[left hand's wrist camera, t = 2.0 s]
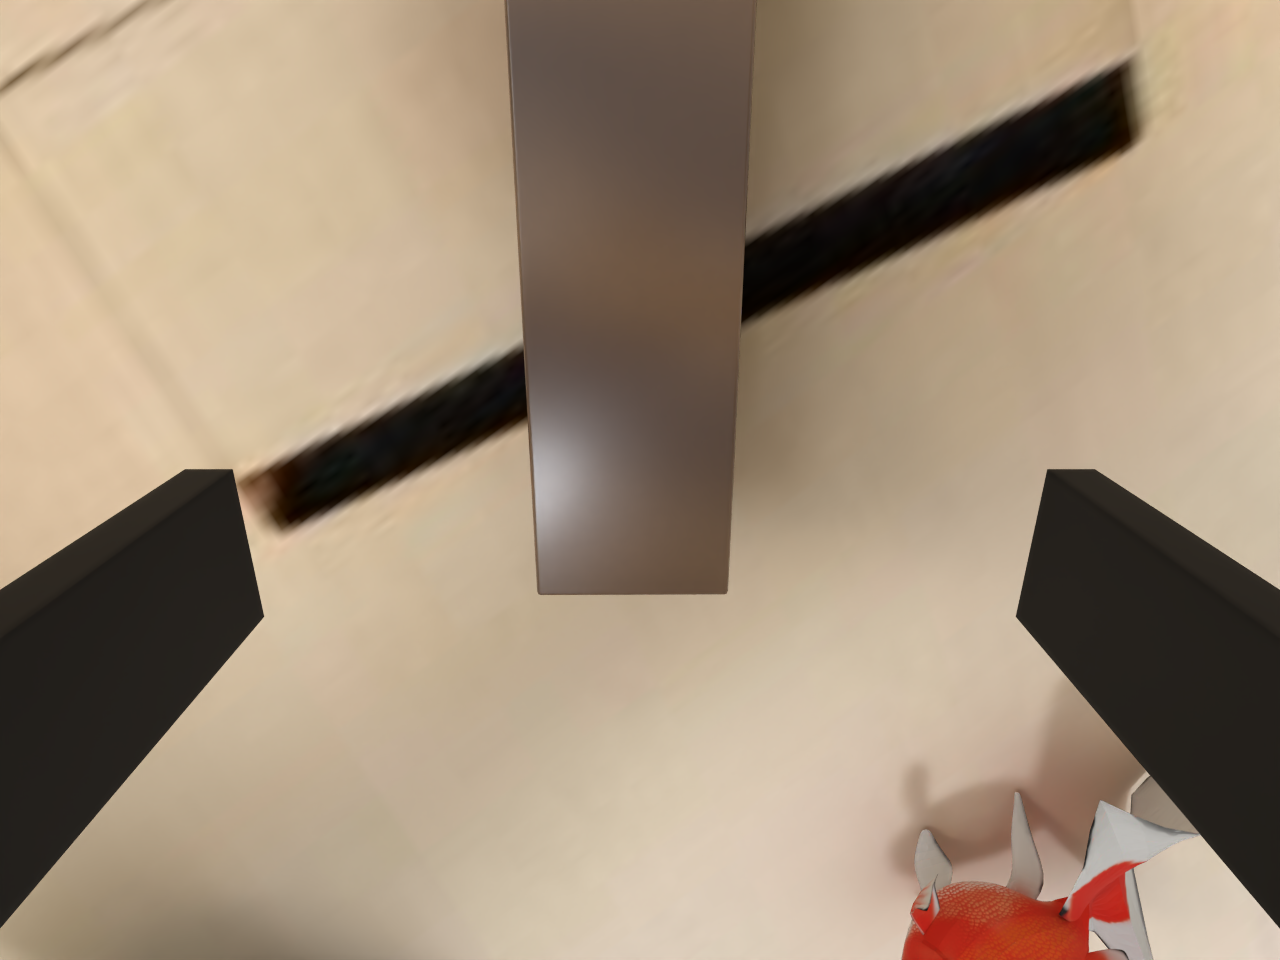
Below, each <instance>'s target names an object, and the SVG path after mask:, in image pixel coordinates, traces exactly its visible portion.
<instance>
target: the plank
mask: <svg viewBox="0 0 1280 960" xmlns="http://www.w3.org/2000/svg"><path fill="white" fill-rule="evenodd" d="M504 1H505V19H506V37H507V55H508V73H509V91H510V109H511V127H512V145H513V163H514V181H515V199H516V217H517V235H518V253H519V271H520V289H521V307H522V324H523V342H524V360H525V378H526V396H527V414H528V432H529V450H530V468H531V486H532V504H533V522H534V540H535V558H536V576H537V592H538V594H540V595H636V594H727V591H728V577H729V557H730V536H731V516H732V495H733V475H734V454H735V434H736V413H737V393H738V372H739V352H740V331H741V310H742V290H743V269H744V249H745V228H746V208H747V187H748V167H749V146H750V126H751V105H752V85H753V64H754V43H755V23H756V2H757V0H504Z"/></svg>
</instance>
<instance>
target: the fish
mask: <svg viewBox="0 0 1280 960" xmlns="http://www.w3.org/2000/svg"><path fill="white" fill-rule="evenodd" d="M1199 835H1200V834H1199V832H1198V831H1197V830H1196V829H1195V828H1194V826H1193V825H1192V824H1191V823H1190V822H1189V821H1188V819H1187V818H1186V817H1185V816H1184V815H1183V813H1182V812H1181V811H1180V810H1179V809H1178V808H1177V806H1176V805H1175V804H1174V803H1173V802H1172V800H1171V799H1170V798H1169V797H1168V796H1167V795H1166V793H1165V792H1164V791H1163V790H1162V789H1161V787H1160V786H1159V785H1158V784H1157V783H1156V782H1155V780H1154V779H1153V778H1152V777H1151V776H1149V777H1148V778H1147V779H1146V780H1145V781H1144V782H1143V783H1142V784H1141V785H1140V786H1139V787H1138V788H1137V789H1136V791H1135V792H1134V793H1133V794H1132V797H1131V814H1130V813H1128V812H1126V811H1123V810H1121V809H1119V808H1117V807H1115V806H1113V805H1110V804H1108V803H1106V802H1104V801H1102V800H1100V802H1099V805H1098V808H1097V811H1096V814H1095V817H1094V820H1093V823H1092V826H1091V830H1090V834H1089V840H1088V845H1087V851H1086V856H1085V862H1084V867H1083V869H1082V871H1081V873H1080V875H1079V877H1078V879H1077V881H1076V884H1075V885H1074V887H1073V889H1072V891H1071V893H1070V895H1069V897H1065V898H1061V899H1057V900H1054V901H1048V902H1044V901H1038V900H1036V899H1037V897H1038V896H1039V894H1040V892H1041V889H1042V886H1043V870H1042V866H1041V862H1040V859H1039V856H1038V853H1037V850H1036V847H1035V844H1034V841H1033V838H1032V835H1031V831H1030V828H1029V825H1028V821H1027V818H1026V814H1025V810H1024V807H1023V803H1022V799H1021V796H1020V794H1019V793H1018V792H1015V797H1014V809H1013V818H1012V831H1011V844H1012V872H1011V878H1010V880H1009V882H1008V884H1007V886H1006V887H1003V886H1000V885H997V884H992V883H986V882H974V881H970V882H959V883H953V884H951V879H952V873H953V871H952V865H951V863H950V860H949V859H948V858H947V856H946V855H945V853H944V852H943V851H942V849H941V848H940V847H939V845H938V843H937V842H936V840H935V838H934V836H933V835H932V833H931V831H929V830H923V831H922V832H921V833H920V836H919V839H918V843H917V847H916V852H915V861H914V864H915V872H916V875H917V879H918V881H919V884H920V887H921V892H920V894H919V895H918V897H917V898H916V900H915V902H914V903H913V906H912V909H911V912H910V914H911V917H912V921H911V924H910V926H909V929H908V933H907V936H906V940H905V944H904V949H903V954H902V959H901V960H1153V956H1152V952H1151V949H1150V945H1149V941H1148V936H1147V932H1146V927H1145V922H1144V917H1143V913H1142V908H1141V903H1140V898H1139V893H1138V889H1137V884H1136V879H1135V874H1134V867H1136V866H1137V865H1139V864H1142V863H1144V862H1146V861H1147V860H1149V859H1150V858H1152V857H1153V856H1155V855H1157V854H1158V853H1160V852H1161V851H1163V850H1165V849H1167V848H1169V847H1170V846H1172V845H1174V844H1176V843H1178V842H1180V841H1183V840H1186V839H1189V838H1193V837H1196V836H1199ZM1089 930H1090V931H1093V932H1095V933H1096V934H1097V936H1098V937H1099V938H1100V939H1101V940H1102V942H1103V943H1104V944H1105V945H1106V946H1107V948H1108V949H1107V950H1101V951H1095V952H1090V953H1088V952H1089Z"/></svg>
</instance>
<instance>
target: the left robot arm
mask: <svg viewBox="0 0 1280 960" xmlns="http://www.w3.org/2000/svg"><path fill="white" fill-rule="evenodd" d="M263 617H264V614H263V609H262V604H261V600H260V595H259V590H258V586H257V581H256V576H255V572H254V567H253V562H252V558H251V553H250V548H249V544H248V539H247V534H246V530H245V525H244V520H243V516H242V511H241V506H240V502H239V497H238V492H237V488H236V483H235V478H234V474H233V469H185V470H183V471H182V472H180V473H179V474H177V475H176V476H174V477H173V478H171V479H170V480H168V481H166V482H165V483H163V484H162V485H160V486H159V487H157V488H156V489H154V490H153V491H151V492H150V493H148V494H147V495H145V496H143V497H142V498H140V499H139V500H137V501H136V502H134V503H133V504H131V505H130V506H128V507H127V508H125V509H124V510H122V511H120V512H119V513H117V514H116V515H114V516H113V517H111V518H110V519H108V520H107V521H105V522H104V523H102V524H101V525H99V526H97V527H96V528H94V529H93V530H91V531H90V532H88V533H87V534H85V535H84V536H82V537H81V538H79V539H78V540H76V541H74V542H73V543H71V544H70V545H68V546H67V547H65V548H64V549H62V550H61V551H59V552H58V553H56V554H55V555H53V556H51V557H50V558H48V559H47V560H45V561H44V562H42V563H41V564H39V565H38V566H36V567H35V568H33V569H31V570H30V571H28V572H27V573H25V574H24V575H22V576H21V577H19V578H18V579H16V580H15V581H13V582H12V583H10V584H8V585H7V586H5V587H4V588H2V589H1V590H0V928H1V927H2V926H3V924H4V923H5V922H6V921H7V920H8V919H9V917H10V916H11V915H12V914H13V913H14V911H15V910H16V909H17V908H18V907H19V906H20V904H21V903H22V902H23V901H24V900H25V898H26V897H27V896H28V895H29V894H30V893H31V891H32V890H33V889H34V888H35V887H36V885H37V884H38V883H39V882H40V881H41V880H42V878H43V877H44V876H45V875H46V874H47V872H48V871H49V870H50V869H51V868H52V867H53V865H54V864H55V863H56V862H57V861H58V859H59V858H60V857H61V856H62V855H63V854H64V852H65V851H66V850H67V849H68V848H69V847H70V845H71V844H72V843H73V842H74V841H75V839H76V838H77V837H78V836H79V835H80V834H81V832H82V831H83V830H84V829H85V828H86V826H87V825H88V824H89V823H90V822H91V821H92V819H93V818H94V817H95V816H96V815H97V813H98V812H99V811H100V810H101V809H102V808H103V806H104V805H105V804H106V803H107V802H108V800H109V799H110V798H111V797H112V796H113V795H114V793H115V792H116V791H117V790H118V789H119V787H120V786H121V785H122V784H123V783H124V782H125V780H126V779H127V778H128V777H129V776H130V774H131V773H132V772H133V771H134V770H135V769H136V767H137V766H138V765H139V764H140V763H141V761H142V760H143V759H144V758H145V757H146V756H147V754H148V753H149V752H150V751H151V750H152V748H153V747H154V746H155V745H156V744H157V743H158V741H159V740H160V739H161V738H162V737H163V735H164V734H165V733H166V732H167V731H168V730H169V728H170V727H171V726H172V725H173V724H174V723H175V721H176V720H177V719H178V718H179V717H180V715H181V714H182V713H183V712H184V711H185V710H186V708H187V707H188V706H189V705H190V704H191V702H192V701H193V700H194V699H195V698H196V697H197V695H198V694H199V693H200V692H201V691H202V689H203V688H204V687H205V686H206V685H207V684H208V682H209V681H210V680H211V679H212V678H213V676H214V675H215V674H216V673H217V672H218V671H219V669H220V668H221V667H222V666H223V665H224V663H225V662H226V661H227V660H228V659H229V658H230V656H231V655H232V654H233V653H234V652H235V650H236V649H237V648H238V647H239V646H240V645H241V643H242V642H243V641H244V640H245V639H246V637H247V636H248V635H249V634H250V633H251V632H252V630H253V629H254V628H255V627H256V626H257V624H258V623H259V622H260V621H261V620H262V619H263ZM1016 617H1017V619H1018V620H1019V621H1020V622H1021V623H1022V624H1023V626H1024V627H1025V628H1026V629H1027V630H1028V632H1029V633H1030V634H1031V635H1032V636H1033V637H1034V639H1035V640H1036V641H1037V642H1038V643H1039V645H1040V646H1041V647H1042V648H1043V649H1044V650H1045V652H1046V653H1047V654H1048V655H1049V656H1050V658H1051V659H1052V660H1053V661H1054V662H1055V663H1056V665H1057V666H1058V667H1059V668H1060V669H1061V671H1062V672H1063V673H1064V674H1065V675H1066V676H1067V678H1068V679H1069V680H1070V681H1071V682H1072V684H1073V685H1074V686H1075V687H1076V688H1077V689H1078V691H1079V692H1080V693H1081V694H1082V695H1083V697H1084V698H1085V699H1086V700H1087V701H1088V702H1089V704H1090V705H1091V706H1092V707H1093V708H1094V710H1095V711H1096V712H1097V713H1098V714H1099V715H1100V717H1101V718H1102V719H1103V720H1104V721H1105V723H1106V724H1107V725H1108V726H1109V727H1110V728H1111V730H1112V731H1113V732H1114V733H1115V734H1116V735H1117V737H1118V738H1119V739H1120V740H1121V741H1122V743H1123V744H1124V745H1125V746H1126V747H1127V748H1128V750H1129V751H1130V752H1131V753H1132V754H1133V756H1134V757H1135V758H1136V759H1137V760H1138V761H1139V763H1140V764H1141V765H1142V766H1143V767H1144V769H1145V770H1146V771H1147V772H1148V773H1149V774H1150V776H1151V777H1152V778H1153V779H1154V780H1155V782H1156V783H1157V784H1158V785H1159V786H1160V787H1161V789H1162V790H1163V791H1164V792H1165V793H1166V795H1167V796H1168V797H1169V798H1170V799H1171V800H1172V802H1173V803H1174V804H1175V805H1176V806H1177V808H1178V809H1179V810H1180V811H1181V812H1182V813H1183V815H1184V816H1185V817H1186V818H1187V819H1188V821H1189V822H1190V823H1191V824H1192V825H1193V826H1194V828H1195V829H1196V830H1197V831H1198V832H1199V834H1200V835H1201V836H1202V837H1203V838H1204V839H1205V841H1206V842H1207V843H1208V844H1209V845H1210V846H1211V848H1212V849H1213V850H1214V851H1215V852H1216V854H1217V855H1218V856H1219V857H1220V858H1221V859H1222V861H1223V862H1224V863H1225V864H1226V865H1227V867H1228V868H1229V869H1230V870H1231V871H1232V872H1233V874H1234V875H1235V876H1236V877H1237V878H1238V880H1239V881H1240V882H1241V883H1242V884H1243V885H1244V887H1245V888H1246V889H1247V890H1248V891H1249V893H1250V894H1251V895H1252V896H1253V897H1254V898H1255V900H1256V901H1257V902H1258V903H1259V904H1260V906H1261V907H1262V908H1263V909H1264V910H1265V911H1266V913H1267V914H1268V915H1269V916H1270V917H1271V919H1272V920H1273V921H1274V922H1275V923H1276V924H1277V926H1278V927H1279V928H1280V590H1279V589H1278V588H1276V587H1275V586H1273V585H1272V584H1270V583H1268V582H1267V581H1265V580H1264V579H1262V578H1261V577H1259V576H1258V575H1256V574H1255V573H1253V572H1252V571H1250V570H1249V569H1247V568H1245V567H1244V566H1242V565H1241V564H1239V563H1238V562H1236V561H1235V560H1233V559H1232V558H1230V557H1229V556H1227V555H1225V554H1224V553H1222V552H1221V551H1219V550H1218V549H1216V548H1215V547H1213V546H1212V545H1210V544H1209V543H1207V542H1206V541H1204V540H1202V539H1201V538H1199V537H1198V536H1196V535H1195V534H1193V533H1192V532H1190V531H1189V530H1187V529H1186V528H1184V527H1183V526H1181V525H1179V524H1178V523H1176V522H1175V521H1173V520H1172V519H1170V518H1169V517H1167V516H1166V515H1164V514H1163V513H1161V512H1160V511H1158V510H1156V509H1155V508H1153V507H1152V506H1150V505H1149V504H1147V503H1146V502H1144V501H1143V500H1141V499H1140V498H1138V497H1137V496H1135V495H1133V494H1132V493H1130V492H1129V491H1127V490H1126V489H1124V488H1123V487H1121V486H1120V485H1118V484H1117V483H1115V482H1114V481H1112V480H1110V479H1109V478H1107V477H1106V476H1104V475H1103V474H1101V473H1100V472H1098V471H1097V470H1095V469H1047V474H1046V478H1045V483H1044V488H1043V492H1042V497H1041V502H1040V506H1039V511H1038V516H1037V520H1036V525H1035V530H1034V534H1033V539H1032V544H1031V548H1030V553H1029V558H1028V562H1027V567H1026V572H1025V576H1024V581H1023V586H1022V590H1021V595H1020V600H1019V604H1018V609H1017V614H1016Z"/></svg>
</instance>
